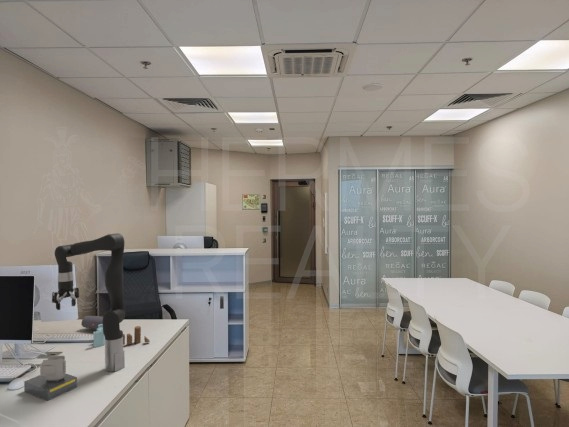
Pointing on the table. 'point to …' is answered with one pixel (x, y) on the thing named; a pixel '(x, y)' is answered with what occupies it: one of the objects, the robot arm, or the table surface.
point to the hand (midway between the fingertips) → (66, 307)
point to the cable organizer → (53, 368)
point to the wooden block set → (135, 336)
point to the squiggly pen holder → (99, 336)
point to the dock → (49, 386)
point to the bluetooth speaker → (92, 322)
